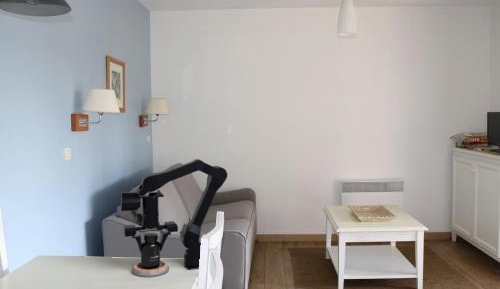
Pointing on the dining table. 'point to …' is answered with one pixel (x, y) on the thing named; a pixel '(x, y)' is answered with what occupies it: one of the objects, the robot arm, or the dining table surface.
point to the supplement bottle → (150, 252)
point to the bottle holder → (150, 273)
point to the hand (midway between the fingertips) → (151, 252)
